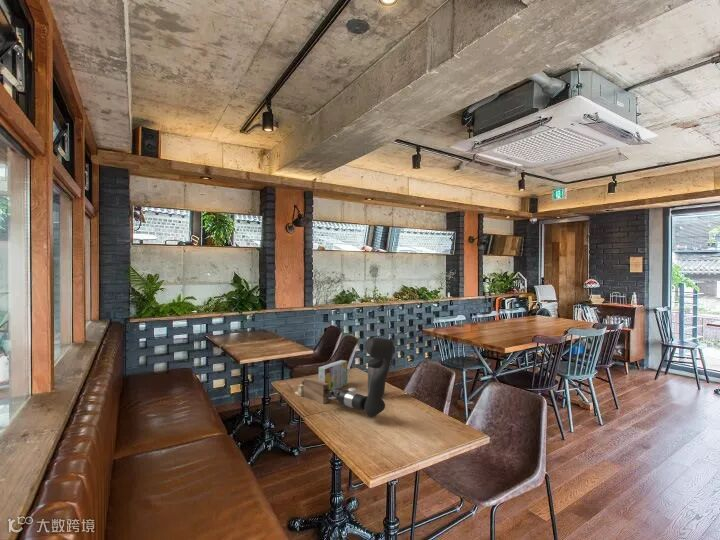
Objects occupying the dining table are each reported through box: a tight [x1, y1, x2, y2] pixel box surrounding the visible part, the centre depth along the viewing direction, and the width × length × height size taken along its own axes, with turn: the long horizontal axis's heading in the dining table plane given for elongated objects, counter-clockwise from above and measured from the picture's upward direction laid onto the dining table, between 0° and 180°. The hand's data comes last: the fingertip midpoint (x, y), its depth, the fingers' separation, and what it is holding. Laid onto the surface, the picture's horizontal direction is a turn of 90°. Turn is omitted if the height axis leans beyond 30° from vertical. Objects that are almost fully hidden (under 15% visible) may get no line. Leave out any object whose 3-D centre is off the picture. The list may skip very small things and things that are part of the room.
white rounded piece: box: [347, 387, 358, 394], centre depth 209 cm, size 5×5×6 cm
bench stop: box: [294, 380, 304, 397], centre depth 219 cm, size 11×6×8 cm, turn 139°
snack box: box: [318, 359, 348, 390], centre depth 227 cm, size 21×6×15 cm, turn 144°
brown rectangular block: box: [303, 377, 330, 405], centre depth 209 cm, size 4×16×10 cm, turn 49°
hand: (326, 391), depth 204 cm, fingers closed
